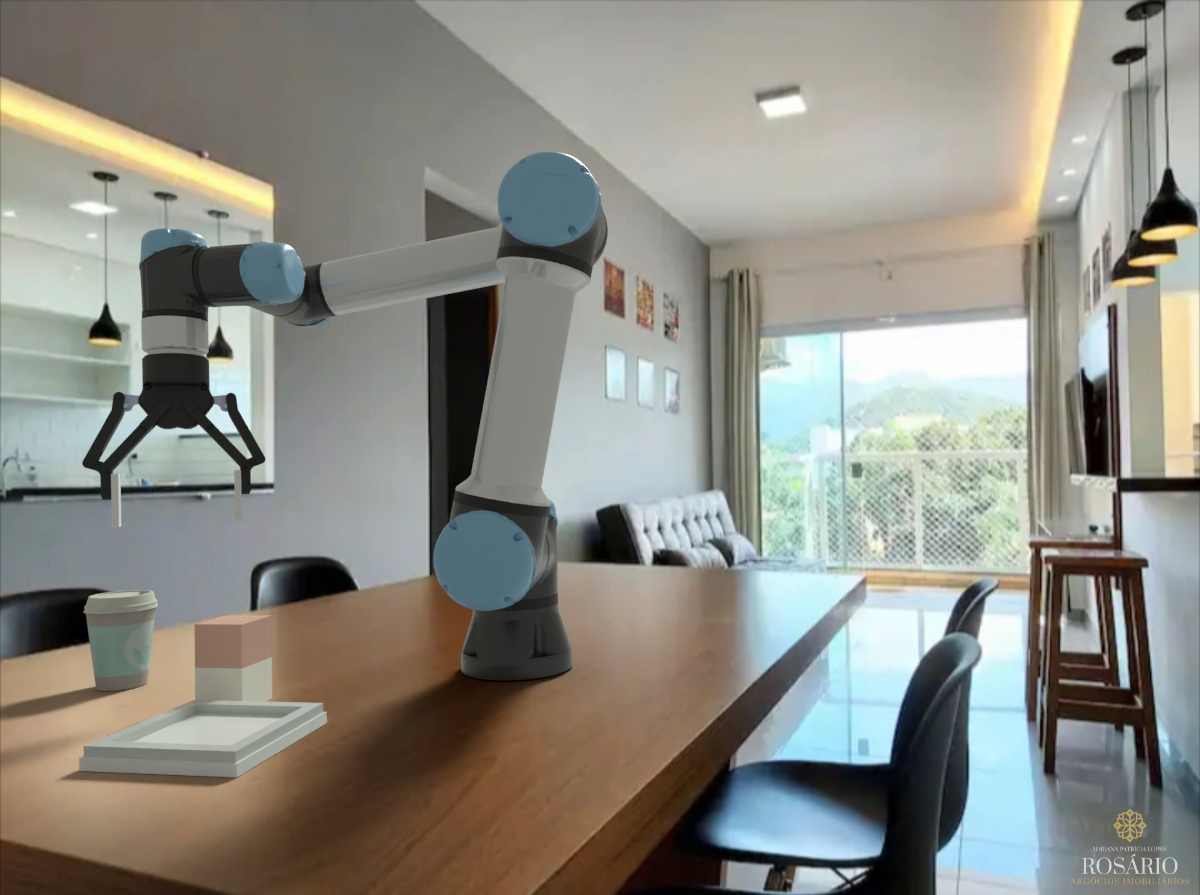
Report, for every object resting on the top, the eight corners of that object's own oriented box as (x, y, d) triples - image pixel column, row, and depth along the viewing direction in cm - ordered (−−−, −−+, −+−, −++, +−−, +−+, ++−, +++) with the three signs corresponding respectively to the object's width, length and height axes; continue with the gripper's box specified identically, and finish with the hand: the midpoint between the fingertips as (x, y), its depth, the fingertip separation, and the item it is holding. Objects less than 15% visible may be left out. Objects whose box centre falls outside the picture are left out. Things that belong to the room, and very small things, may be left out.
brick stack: (272, 698, 99) (271, 615, 100) (242, 712, 93) (241, 624, 94) (227, 697, 100) (226, 615, 101) (195, 711, 94) (194, 624, 95)
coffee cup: (125, 695, 102) (124, 599, 103) (67, 693, 104) (66, 598, 104) (173, 678, 111) (173, 589, 111) (119, 676, 112) (118, 589, 113)
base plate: (326, 722, 88) (326, 702, 89) (236, 777, 73) (236, 752, 73) (193, 719, 91) (193, 699, 91) (79, 771, 75) (79, 746, 76)
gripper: (279, 362, 112) (283, 517, 111) (64, 356, 101) (66, 528, 101) (283, 353, 105) (287, 519, 105) (53, 347, 95) (55, 531, 94)
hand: (179, 524), depth 103 cm, fingers open, 13 cm apart
